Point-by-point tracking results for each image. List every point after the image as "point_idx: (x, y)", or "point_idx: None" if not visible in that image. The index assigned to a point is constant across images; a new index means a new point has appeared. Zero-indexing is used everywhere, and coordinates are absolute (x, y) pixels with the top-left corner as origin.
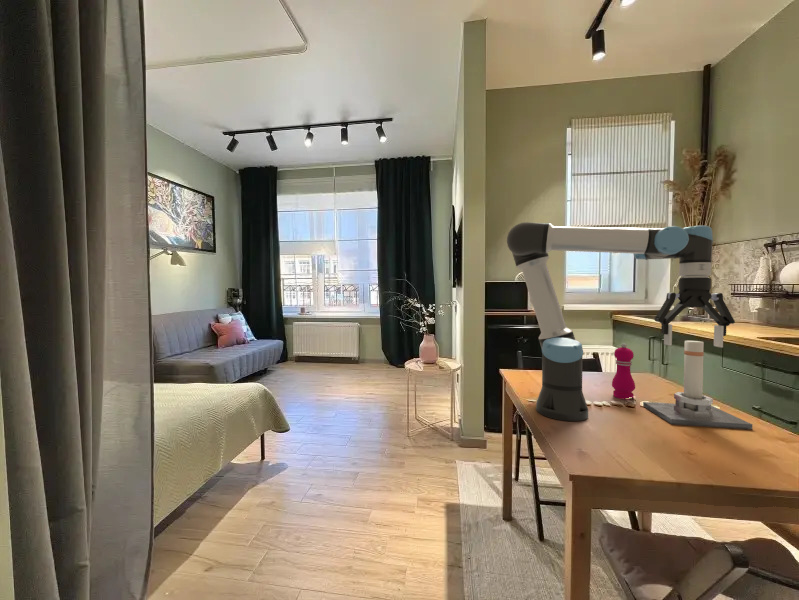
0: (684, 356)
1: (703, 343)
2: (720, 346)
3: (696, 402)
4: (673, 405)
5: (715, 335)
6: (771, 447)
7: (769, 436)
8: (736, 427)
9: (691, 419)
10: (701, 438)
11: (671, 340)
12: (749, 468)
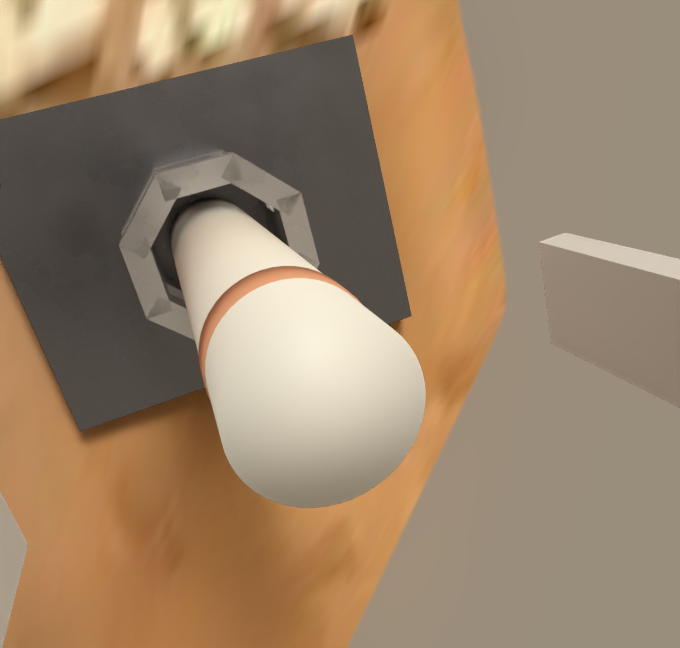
0: (198, 338)
1: (410, 429)
2: (561, 344)
3: None
4: (133, 137)
5: (645, 305)
6: (377, 487)
7: (425, 365)
8: None
9: (175, 383)
10: (172, 533)
11: (10, 598)
12: None
